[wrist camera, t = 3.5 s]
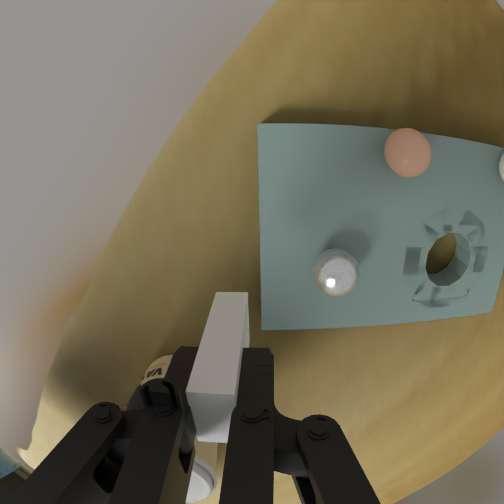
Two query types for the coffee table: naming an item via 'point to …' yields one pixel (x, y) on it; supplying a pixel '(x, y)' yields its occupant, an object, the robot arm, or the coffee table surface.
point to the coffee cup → (206, 452)
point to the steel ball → (335, 272)
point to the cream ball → (501, 166)
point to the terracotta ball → (407, 152)
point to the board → (375, 226)
